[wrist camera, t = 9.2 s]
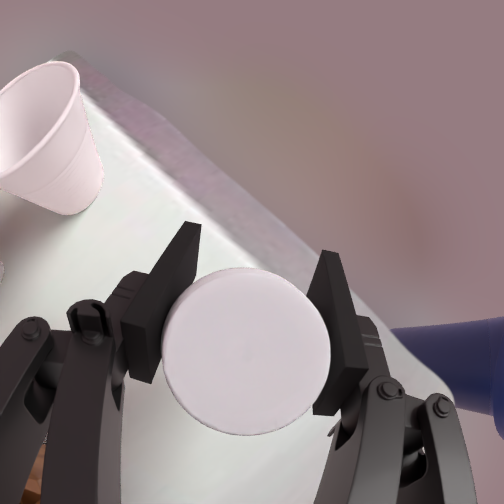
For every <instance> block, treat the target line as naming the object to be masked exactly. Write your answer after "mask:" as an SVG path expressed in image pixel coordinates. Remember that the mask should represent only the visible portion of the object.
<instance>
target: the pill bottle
mask: <svg viewBox="0 0 504 504" xmlns="http://www.w3.org/2000/svg"><path fill="white" fill-rule="evenodd" d="M161 356H162V362H163V369H164V373H165V376H166V380H167V383H168V385H169V387H170V389H171V391H172V393H173V395H174V397H175V398H176V400H177V401H178V403H179V404H180V405H181V406H182V407H183V408H184V409H185V410H186V411H187V412H188V413H189V414H190V415H191V416H192V417H193V418H195V419H196V420H198V421H199V422H200V423H201V424H204V425H206V426H207V427H209V428H212V429H214V430H217V431H220V432H223V433H227V434H231V435H242V436H249V435H260V434H265V433H269V432H273V431H276V430H278V429H281V428H283V427H285V426H287V425H289V424H291V423H292V422H294V421H295V420H296V419H298V418H299V417H301V416H302V415H303V414H304V413H305V412H306V411H307V410H308V409H309V408H310V407H311V406H312V404H313V403H314V402H315V401H316V399H317V398H318V396H319V394H320V392H321V391H322V389H323V387H324V385H325V382H326V380H327V376H328V373H329V367H330V340H329V336H328V332H327V329H326V326H325V324H324V321H323V319H322V317H321V315H320V313H319V312H318V310H317V309H316V308H315V306H314V305H313V304H312V302H311V301H310V300H309V299H308V298H307V297H306V296H305V295H304V294H303V293H302V292H301V291H300V290H299V289H298V288H296V287H295V286H294V285H293V284H291V283H290V282H289V281H287V280H285V279H284V278H282V277H280V276H278V275H276V274H273V273H270V272H267V271H264V270H260V269H255V268H230V269H225V270H220V271H217V272H214V273H211V274H209V275H207V276H205V277H203V278H201V279H199V280H197V281H196V282H194V283H193V284H192V285H190V286H189V287H188V288H187V289H186V290H185V291H184V292H183V293H182V294H181V295H180V296H179V297H178V298H177V300H176V301H175V303H174V304H173V306H172V307H171V309H170V311H169V313H168V315H167V317H166V320H165V322H164V326H163V329H162V335H161Z"/></svg>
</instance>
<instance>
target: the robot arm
mask: <svg viewBox="0 0 504 504" xmlns="http://www.w3.org/2000/svg"><path fill="white" fill-rule="evenodd" d="M201 225H202V224H197V223H192V222H187V221H185V222H184V223H183V225H182V226H181V228H180V229H179V231H178V232H177V233H176V235H175V236H174V238H173V239H172V241H171V242H170V244H169V245H168V247H167V248H166V250H165V251H164V252H163V254H162V255H161V257H160V258H159V260H158V261H157V263H156V264H155V266H154V267H153V269H152V271H151V272H150V274H146V273H141V272H137V271H132V272H131V273H129V274H127V275H126V276H124V277H123V278H122V279H121V281H120V282H119V284H118V285H117V288H115V289H114V290H113V292H112V294H111V295H110V296H109V297H108V299H107V300H106V302H105V303H102V302H101V301H97V300H93V299H89V300H82V301H79V302H76V303H75V304H73V305H72V306H71V307H70V308H69V309H68V311H67V312H66V314H67V317H68V321H69V324H70V328H71V331H63V330H51V329H50V326H49V324H48V323H47V321H46V320H44V319H43V318H41V317H35V316H34V317H28V318H26V319H24V320H22V321H20V322H19V323H18V324H17V325H16V327H15V328H14V329H13V331H12V332H11V333H10V335H9V336H8V337H7V339H6V340H5V341H4V343H3V344H2V345H1V347H0V504H19V503H20V500H21V498H22V495H23V492H24V489H25V486H26V483H27V481H28V478H29V475H30V473H31V470H32V468H33V465H34V463H35V460H36V458H37V455H38V453H39V450H40V448H41V446H42V443H43V441H44V439H45V436H46V434H47V432H48V435H47V441H46V448H45V455H44V463H43V472H42V483H41V497H40V504H121V484H120V465H121V432H122V415H123V401H124V390H125V385H124V380H123V379H124V377H125V374H126V372H127V370H128V371H129V375H130V378H133V379H136V380H139V381H142V382H145V383H149V384H151V383H152V380H153V378H154V375H155V373H156V370H157V368H158V365H159V362H160V360H161V357H162V356H161V335H162V329H163V326H164V322H165V320H166V317H167V315H168V313H169V311H170V309H171V307H172V306H173V304H174V303H175V301H176V300H177V298H178V297H179V296H180V295H181V294H182V293H183V292H184V291H185V290H186V289H187V288H188V287H189V286H190V285H192V283H193V281H194V279H195V276H196V271H197V261H198V252H199V242H200V233H201ZM306 297H307V298H308V299H309V300H310V301H311V302H312V304H313V305H314V306H315V308H316V309H317V310H318V312H319V313H320V315H321V317H322V319H323V321H324V324H325V326H326V329H327V332H328V336H329V340H330V367H329V373H328V376H327V380H326V382H325V385H324V387H323V389H322V391H321V392H320V394H319V396H318V398H317V399H316V401H315V402H314V403H313V404H312V405H313V415H323V416H334V415H335V414H336V413H337V411H338V410H339V409H341V419H340V420H339V421H338V422H337V424H336V425H335V426H334V427H333V428H332V429H331V430H330V432H329V434H328V435H327V436H329V437H330V436H331V435H332V434H333V433H334V436H333V439H332V443H331V447H330V451H329V455H328V458H327V462H326V465H325V469H324V472H323V476H322V479H321V482H320V485H319V489H318V492H317V495H316V498H315V501H314V504H477V498H476V492H475V486H474V481H473V476H472V470H471V466H470V461H469V457H468V453H467V448H466V444H465V440H464V437H463V433H462V429H461V426H460V423H459V419H458V415H457V412H456V409H455V406H454V404H453V402H452V401H451V400H450V399H449V398H448V397H446V396H445V395H443V394H439V393H435V394H431V395H430V396H429V397H428V398H427V399H426V400H425V401H424V400H421V399H418V398H415V397H412V396H409V395H407V394H405V390H404V388H403V387H402V385H401V384H400V383H399V382H398V381H397V380H396V379H394V378H392V377H391V376H390V372H389V369H388V365H387V361H386V358H385V354H384V351H383V348H382V347H381V346H382V344H381V341H380V339H379V334H378V331H377V328H376V326H375V325H374V323H373V322H372V321H371V319H370V318H369V317H364V316H358V315H356V313H355V309H354V305H353V302H352V298H351V294H350V291H349V287H348V284H347V280H346V277H345V274H344V270H343V267H342V263H341V260H340V257H339V254H338V253H336V252H331V251H326V250H322V253H321V255H320V258H319V261H318V264H317V267H316V270H315V273H314V276H313V279H312V281H311V284H310V287H309V290H308V293H307V295H306ZM422 447H424V450H425V453H424V452H423V450H422Z"/></svg>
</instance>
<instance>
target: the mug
mask: <svg viewBox="0 0 504 504" xmlns="http://www.w3.org/2000/svg"><path fill="white" fill-rule="evenodd" d="M3 277H4V265H3V263H2V261H1V260H0V284H1V283H2V280H3Z"/></svg>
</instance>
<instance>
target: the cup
mask: <svg viewBox="0 0 504 504" xmlns="http://www.w3.org/2000/svg"><path fill="white" fill-rule="evenodd" d="M79 86H80V78H79V74H78V72H77V69H76V68H75V67H74V66H72V65H71V64H69V63H66V62H59V61H55V62H48V63H44V64H41V65H38V66H36V67H34V68H32V69H29V70H27V71H26V72H24V73H23V74H21V75H19V76H18V77H16V78H15V79H13V80H12V81H11V82H10V83H8V84H7V85H6V86H5V87H4V88H3V89H2V90H1V91H0V189H2V190H4V191H6V192H8V193H11V194H14V195H16V196H18V197H20V198H23V199H25V200H27V201H30V202H32V203H34V204H37V205H39V206H41V207H44V208H46V209H48V210H51V211H53V212H56V213H58V214H61V215H73V214H76V213H79V212H81V211H83V210H84V209H85V208H87V207H88V206H89V205H90V204H91V203H92V202H93V201H94V200H95V198H96V197H97V196H98V194H99V192H100V190H101V188H102V185H103V181H104V169H103V165H102V162H101V159H100V156H99V154H98V151H97V148H96V145H95V142H94V139H93V135H92V132H91V130H90V126H89V123H88V119H87V116H86V112H85V108H84V104H83V101H82V97H81V93H80V89H79Z"/></svg>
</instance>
